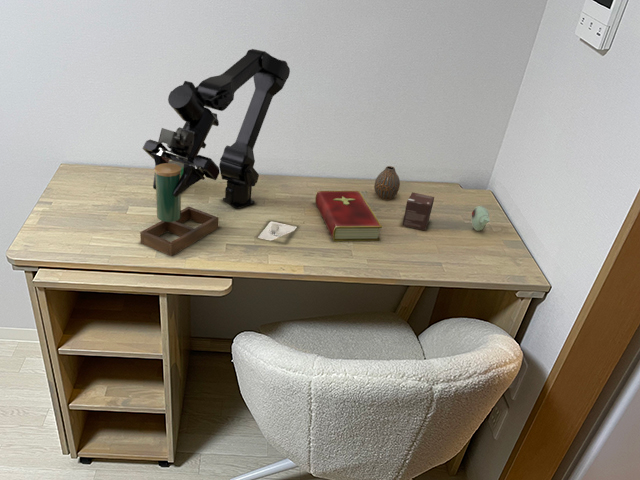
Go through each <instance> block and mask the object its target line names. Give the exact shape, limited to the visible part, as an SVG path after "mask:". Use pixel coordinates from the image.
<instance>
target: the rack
mask: <svg viewBox="0 0 640 480" xmlns="http://www.w3.org/2000/svg"><path fill="white" fill-rule="evenodd" d="M189 220H190V221H192V222H196V223H198V224H200V225H198V226H196V227H195V228H194V227H191V226H188V225H186V224H183V223H186V222H187V221H189ZM219 221H220V217H219V216H216V215H214V214H210V213H208V212H205V211H202V210H200V209H197V208H194V207H192V206H186V207H185V208H183V209H181V218H180V219H179V220H177V221H174V222H164V221H161V220H159V221H158V222H157V223H155V224H153V225H150V226H149V227H147V228H145V229H143V230H141V231H140V232H139V234H140V236H139V237H140V244H141V245H144V246H147V247H149V248H151V249H154V250H156V251H158V252H161V253H163V254H166V255H168V256H171V257H173V256H174V255H176V254H178V253H179V252H181V251H183V250H184V249H186V248H188V247H190V246H191V245H193V244H194V243H196V242H197V241H199V240H201V239H203V238H204V237H206V236H207V235H210V234H211V233H213V232H214V231H216V230H218V229H219ZM167 232H168V233H170V234H173V235H175V236H178V237H177V238H175V239H173V240H172V241H170V240H167V239H165V238H162V237H160V236H162V235H164V234H165V233H167Z"/></svg>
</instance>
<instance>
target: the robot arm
mask: <svg viewBox="0 0 640 480" xmlns="http://www.w3.org/2000/svg"><path fill="white" fill-rule="evenodd" d="M290 73H291V70H290V66H289V65H288V62H287V61H286V60H283V59H279V58H276V57H275V56H272V55H271V54H270V53H269V52H267V51H266V50H260V49H255V48H251V49H248V50H247V51H246V53H245V55H244V56H242V57H241V58H240V59H238V61H236V62H234V64H232V66H230V67H229V68H228V69H226V70H225V71H224V72H223V73H221V74H218V75H214V76H210V77H209V76H208V78H206V79H203V80H202V81H200V82H199V83H198V85H195V84H194V83H193V82H192V81H189V80H184V82H183V83H182V84H181V85H178V86H176V87H174V88H173V90H171V91H170V92H169V94H168V98H167V102H168V104H169V106H170V107H171V108H172V110H173V111H174V112H175V113H176V114H177V116H179V117H180V118H181V120H182V121H184V125H183V126H182V127H177V128H176V130H175V131H173V130H170V129H167V128H163V127H161V130H160V133H159V137H158V141H156V140H153V139H148V140H146V141H145V142H144V144H143V146H142V150H143V151H144V152H145V153H146V154H147V155H149V156H150V157H151V159H153V161H154V164H155V165H154V168H155V167H156V166H157V165H159V164H163V163H169V160H173V161H176V162H179V163H182V164H184V169H183V174H182V176H181V178H180V180H179V182H178V184H177V186H176V188H175V190H174V193H173V195H174V196H175V197H177V196H178V195H180V194H181V195H182V193H184V192H185V191H186V190H188V189H189V188H190V187H192V186H193V185H195V184H196V183H197V182H199V181H204V180H206V178H207V179H210V180H214V181H216V180H217V179H218V177H219V175H220V176H221V177H220V178H221V179H222V180H223V181H224V180H225V181H226V187H225V191H224V197H223V198H222V201H223V202H224V203H225V204H228V205H229V206H231V207H233V208H235V209H240V208H244V207H247V206H251V205H254V204H255V200H253V199H252V190H253V187H256V184H258V181H259V176H260V174H259V173H258V172H257V170H256V169H255V162H256V160H255V154H254V148H255V145H256V143H257V140H258V137H259V134H260V132H261V129H262V127H263V124H264V122H265V119H266V116H267V114H268V111H269V107H270V106H271V103H272V100H273V98H274V97H275V96H276V95H277V94H278V93H279V92H281V91H282V90H283V88H284V87H285V84H286V82H287V81H288V79H289V77H290ZM252 78H253V83H254V91H253V93H252V97H251V100H250V102H249V104H248V107H247V110H246V113H245V116H244V119H243V121H242V123H241V125H240V129H239V131H238V134H237V137H236V140H235V141H234V143H233V144H232V145H226V146H225V147H224V149H223V153H222V155H221V157H220V160H219V165H217V164H216V162H215V161H214V160H213V159H212V158H210V157H207V156H204V155H201V154H199V153H200V151H201V149H206V147H207V144H206V142H205V141H206V140H207V137H208V135H209V133H210V132H211V129H212V127H213V126H214V127H219V126H220V125H219V124H220V123H219V119H218V114H217V113H215V112H213V111H212V110H216V111H219V112H223V111H225V110H226V109H227V108H228V107H229V106H230V105H231V104H232V102H233V101H234V100H235V93H236V92H237V91H238V90H239V89H240V88H241V87H242V86H244V85H245V84H246V83H247V82H248V81H250V80H251V79H252ZM211 109H212V110H211ZM164 144H166V146H165V145H164ZM169 149H170V150H171V151H170V150H169ZM176 157H178V158H176ZM152 188H153V189H154V190H155V191H156V177H155V174H154V177H153V184H152Z"/></svg>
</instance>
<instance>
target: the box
mask: <svg viewBox="0 0 640 480" xmlns="http://www.w3.org/2000/svg"><path fill="white" fill-rule="evenodd" d="M434 201H435V196H432V195H427V194H422V193H418V192H411V193H410V195H409V197H408V199H407V201H406V205H405V210H404V214H403V220H402V227H406V228H407V227H408V228H412V229H416V230H421V231H426V229H427V227H428V225H429V222H430V218H431V214H432V208H433V205H434Z"/></svg>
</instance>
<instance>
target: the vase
mask: <svg viewBox="0 0 640 480" xmlns="http://www.w3.org/2000/svg"><path fill="white" fill-rule="evenodd" d="M400 186H401V181H400V177H399V175H398V173H397V171H396V168H395V167H394V166H392V165H387V166H386V167H385V168H384V169H383V170H382V171H381V172H380V173H379V174H378V175H377V177H376V178H375V181H374V187H373V188H374V193H375V195H376V197H378V199H381V200H387V201H388V200H391V199H393V198H394V197H396V196H397V194H398V192H399V190H400V188H401V187H400Z"/></svg>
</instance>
